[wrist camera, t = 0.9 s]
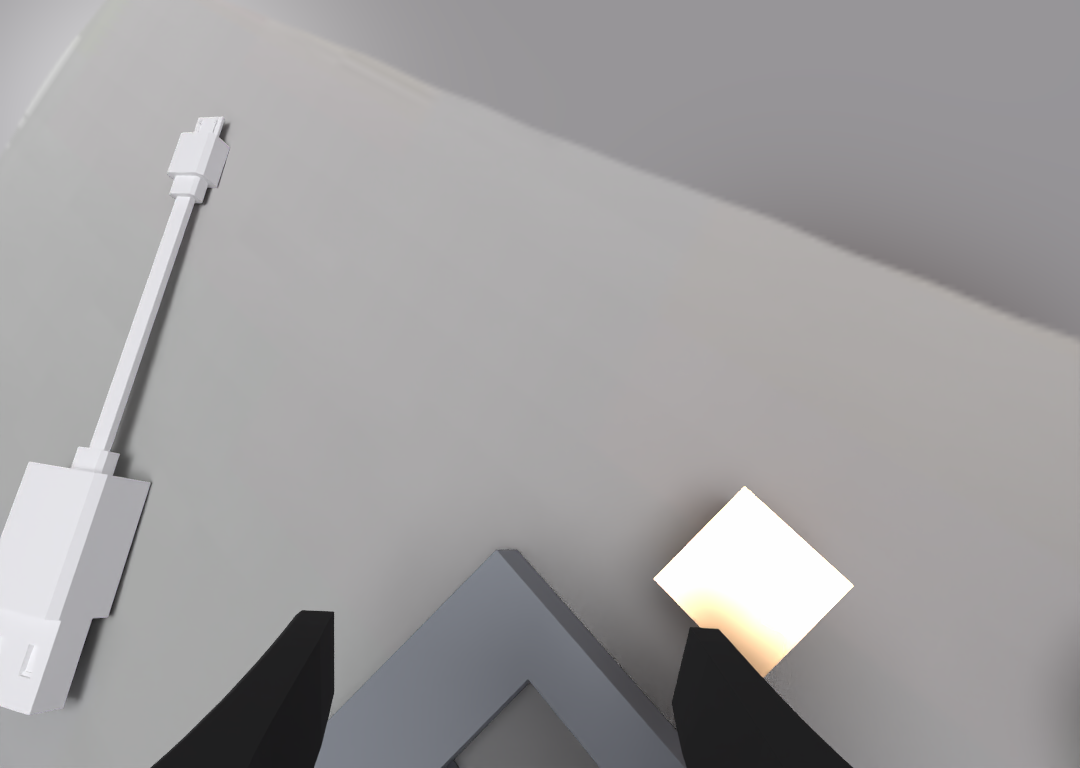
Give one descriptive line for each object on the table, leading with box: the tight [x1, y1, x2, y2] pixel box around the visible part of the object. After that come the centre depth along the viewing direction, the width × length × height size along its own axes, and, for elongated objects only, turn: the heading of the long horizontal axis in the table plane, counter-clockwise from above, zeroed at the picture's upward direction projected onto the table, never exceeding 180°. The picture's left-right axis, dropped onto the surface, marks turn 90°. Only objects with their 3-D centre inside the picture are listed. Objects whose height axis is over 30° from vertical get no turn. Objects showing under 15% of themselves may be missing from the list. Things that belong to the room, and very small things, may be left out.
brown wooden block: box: [654, 486, 853, 678], centre depth 22 cm, size 4×4×7 cm
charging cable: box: [0, 117, 230, 715], centre depth 34 cm, size 5×32×3 cm, turn 171°
